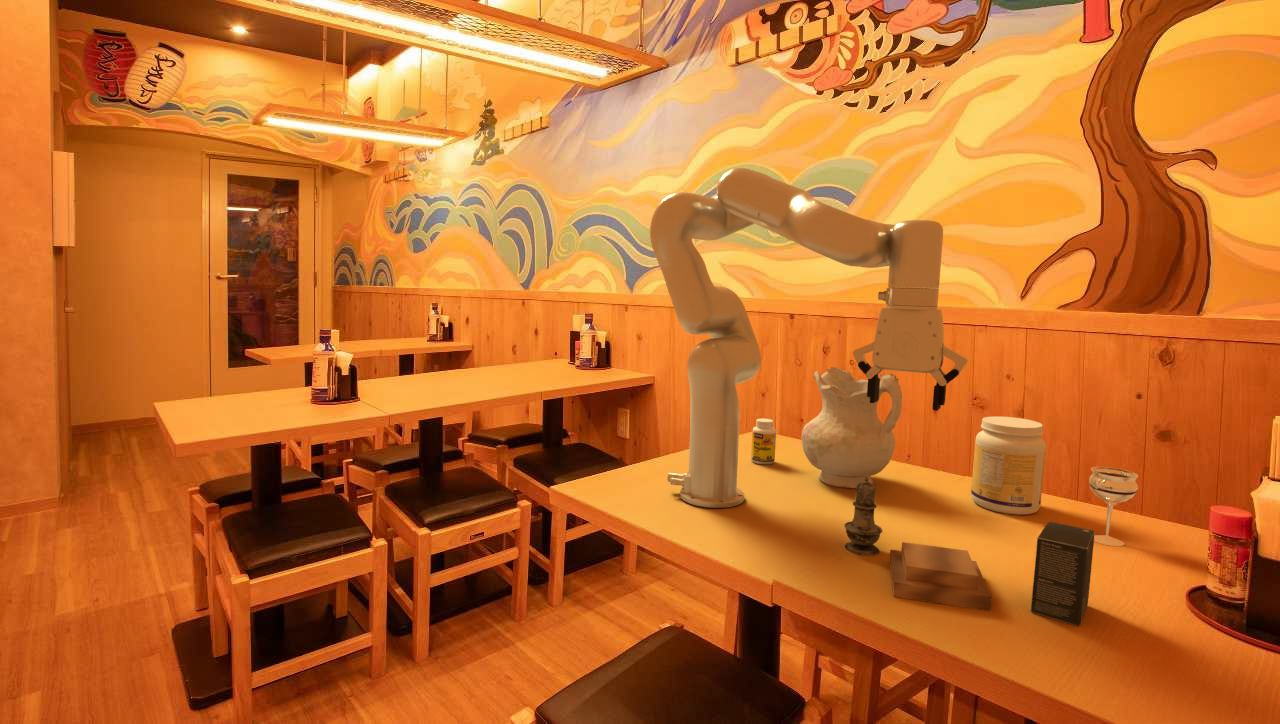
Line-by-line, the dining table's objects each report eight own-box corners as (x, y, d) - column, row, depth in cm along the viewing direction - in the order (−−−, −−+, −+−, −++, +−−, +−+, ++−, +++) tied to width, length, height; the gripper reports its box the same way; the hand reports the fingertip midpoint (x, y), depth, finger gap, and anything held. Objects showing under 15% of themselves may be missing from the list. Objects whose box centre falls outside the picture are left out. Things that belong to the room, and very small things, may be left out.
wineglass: (1122, 536, 116) (1130, 469, 115) (1137, 550, 110) (1145, 480, 108) (1077, 530, 118) (1084, 465, 117) (1089, 544, 112) (1097, 475, 110)
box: (1040, 592, 94) (1047, 520, 93) (1088, 605, 90) (1096, 530, 89) (1029, 612, 88) (1036, 535, 87) (1079, 627, 84) (1088, 547, 83)
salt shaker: (883, 558, 105) (888, 483, 103) (844, 554, 106) (849, 480, 104) (878, 543, 110) (883, 473, 109) (841, 540, 111) (845, 470, 110)
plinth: (893, 596, 92) (895, 568, 91) (889, 562, 103) (891, 537, 103) (990, 611, 88) (993, 582, 88) (974, 573, 99) (977, 548, 99)
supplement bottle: (748, 463, 157) (750, 421, 156) (753, 458, 163) (755, 416, 161) (772, 466, 156) (774, 423, 154) (776, 460, 161) (778, 418, 159)
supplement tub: (990, 492, 140) (997, 413, 138) (1052, 509, 130) (1060, 424, 128) (957, 502, 133) (964, 418, 131) (1020, 520, 123) (1028, 431, 121)
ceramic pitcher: (915, 489, 144) (926, 374, 143) (880, 503, 130) (892, 375, 128) (822, 469, 158) (832, 365, 157) (782, 480, 144) (791, 365, 142)
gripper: (850, 298, 108) (844, 402, 110) (968, 302, 98) (959, 416, 100) (863, 297, 114) (857, 396, 116) (975, 301, 104) (966, 409, 107)
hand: (904, 405), depth 108 cm, fingers open, 9 cm apart
